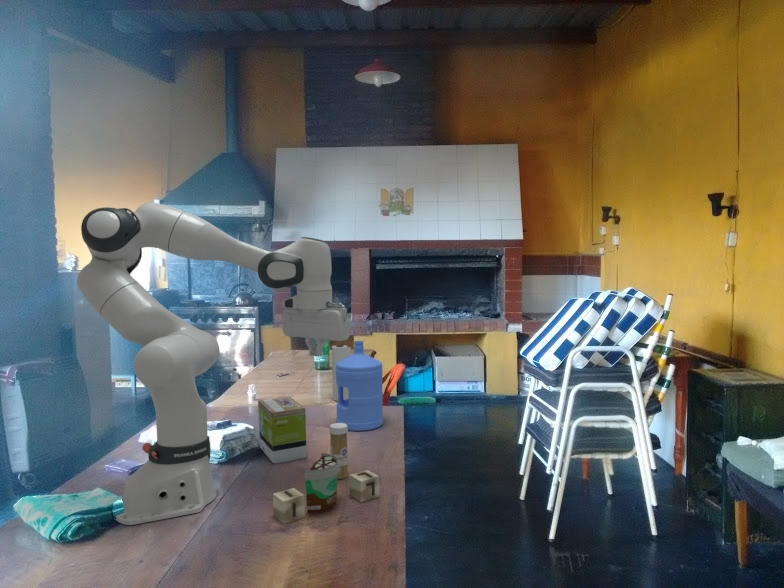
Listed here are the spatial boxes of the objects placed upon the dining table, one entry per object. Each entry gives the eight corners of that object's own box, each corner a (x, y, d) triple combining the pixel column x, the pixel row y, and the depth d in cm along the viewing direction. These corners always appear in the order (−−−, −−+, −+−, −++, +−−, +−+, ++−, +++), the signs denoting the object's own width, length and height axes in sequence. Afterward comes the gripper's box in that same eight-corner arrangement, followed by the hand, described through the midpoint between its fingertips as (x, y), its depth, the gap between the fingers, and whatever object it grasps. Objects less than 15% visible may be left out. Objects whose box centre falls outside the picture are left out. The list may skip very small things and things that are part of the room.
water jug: (385, 418, 201) (384, 338, 199) (380, 432, 185) (379, 345, 183) (341, 417, 202) (339, 338, 200) (332, 431, 187) (330, 345, 185)
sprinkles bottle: (341, 481, 146) (341, 428, 145) (326, 477, 148) (325, 426, 147) (351, 474, 150) (350, 423, 149) (336, 471, 152) (336, 421, 151)
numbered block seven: (361, 502, 133) (361, 480, 133) (349, 495, 137) (349, 473, 137) (379, 497, 136) (379, 475, 135) (367, 490, 140) (367, 469, 140)
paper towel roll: (330, 399, 229) (329, 345, 227) (345, 397, 231) (344, 344, 230) (336, 403, 222) (335, 347, 221) (351, 401, 225) (350, 346, 223)
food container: (332, 518, 125) (331, 472, 124) (304, 515, 126) (303, 471, 126) (347, 494, 137) (347, 453, 136) (322, 493, 138) (322, 452, 138)
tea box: (258, 448, 171) (257, 399, 170) (291, 443, 175) (290, 395, 174) (272, 464, 158) (271, 411, 157) (307, 458, 162) (306, 406, 161)
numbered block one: (284, 524, 123) (283, 500, 122) (273, 515, 127) (272, 492, 126) (305, 518, 125) (304, 494, 125) (294, 509, 130) (293, 487, 129)
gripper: (354, 302, 143) (355, 357, 144) (295, 299, 155) (296, 350, 156) (337, 304, 138) (338, 361, 139) (277, 301, 150) (278, 354, 151)
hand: (315, 355), depth 147 cm, fingers closed
